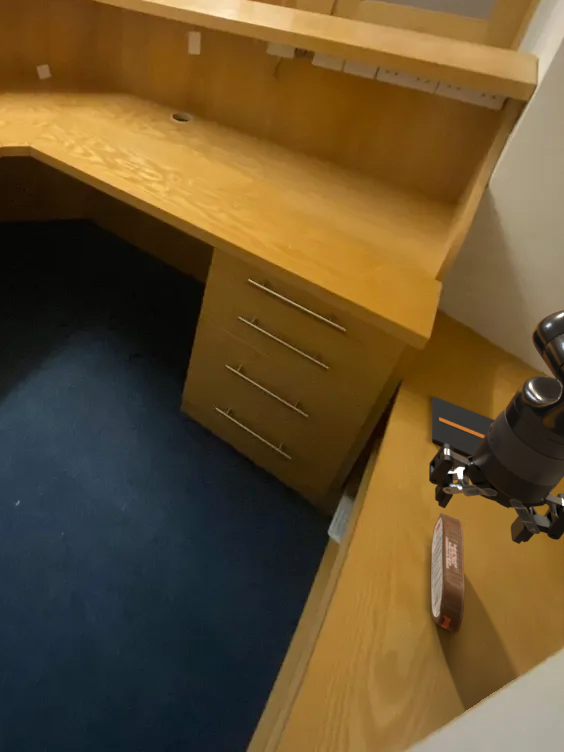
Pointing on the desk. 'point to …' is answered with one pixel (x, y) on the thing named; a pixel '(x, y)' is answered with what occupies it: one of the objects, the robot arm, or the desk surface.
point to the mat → (458, 426)
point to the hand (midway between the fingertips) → (476, 517)
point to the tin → (447, 573)
